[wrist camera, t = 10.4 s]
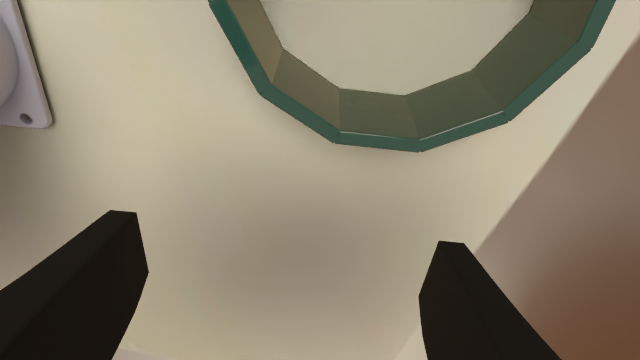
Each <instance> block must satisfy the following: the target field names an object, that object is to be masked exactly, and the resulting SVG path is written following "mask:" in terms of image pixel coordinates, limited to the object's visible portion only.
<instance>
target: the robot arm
mask: <svg viewBox="0 0 640 360" xmlns="http://www.w3.org/2000/svg"><path fill="white" fill-rule="evenodd" d="M25 114H26V115H28V116H29V117H30V118H31V119H32V120H30V119H29V118H27V117H26V115H25ZM51 123H52V117H51V113H50V110H49V107H48V103H47V100H46V97H45V93H44V90H43V87H42V83H41V80H40V77H39V73H38V70H37V67H36V63H35V60H34V57H33V53H32V50H31V47H30V43H29V40H28V37H27V33H26V30H25V27H24V23H23V20H22V16H21V13H20V10H19V6H18V3H17V0H0V125H6V126H15V127H25V128H34V129H45V128H47V127H48V126H49V125H50V124H51ZM148 273H149V271H148V266H147V261H146V257H145V252H144V247H143V242H142V237H141V233H140V228H139V223H138V218H137V213H135V212H125V211H114V210H110V211H108V212H107V213H106V214H104V215H103V216H101V217H100V218H99V219H97V220H96V221H95V222H93V223H92V224H91V225H89V226H88V227H87V228H86V229H84V230H83V231H82V232H80V233H79V234H78V235H76V236H75V237H74V238H72V239H71V240H70V241H68V242H67V243H66V244H65V245H63V246H62V247H61V248H59V249H58V250H56V251H55V252H54V253H52V254H51V255H50V256H48V257H47V258H46V259H44V260H43V261H42V262H40V263H39V264H38V265H36V266H35V267H33V268H32V269H31V270H29V271H28V272H27V273H25V274H24V275H22V276H21V277H19V278H18V279H16V280H15V281H14V282H12V283H11V284H9V285H8V286H6V287H5V288H3V289H2V290H0V360H112V358H113V356H114V354H115V352H116V350H117V348H118V346H119V344H120V342H121V340H122V338H123V336H124V334H125V332H126V330H127V327H128V325H129V323H130V321H131V319H132V317H133V315H134V313H135V311H136V308H137V305H138V302H139V300H140V297H141V294H142V291H143V288H144V285H145V282H146V279H147V276H148ZM419 306H420V317H421V326H422V335H423V340H424V345H425V349H426V354H427V358H428V360H561V359H560V358H559V356H558V355H557V354H556V353H555V352H554V351H553V350H552V349H551V348H550V347H549V346H548V345H547V343H546V342H545V341H544V340H543V339H542V338H541V337H540V336H539V335H538V333H537V332H536V331H535V330H534V329H533V328H532V327H531V325H530V324H529V323H528V322H527V321H526V320H525V319H524V317H523V316H522V315H521V314H520V313H519V311H518V310H517V309H516V308H515V307H514V305H513V304H512V303H511V302H510V301H509V299H508V298H507V297H506V296H505V294H504V293H503V292H502V291H501V289H500V288H499V287H498V286H497V284H496V283H495V282H494V281H493V279H492V278H491V277H490V276H489V274H488V273H487V272H486V271H485V269H484V268H483V267H482V265H481V264H480V263H479V262H478V260H477V259H476V258H475V257H474V255H473V254H472V253H471V251H470V250H469V249H468V248H467V246H466V245H465V244H464V243H456V242H446V241H439V242H438V244H437V247H436V250H435V253H434V255H433V258H432V261H431V264H430V266H429V269H428V272H427V275H426V277H425V280H424V283H423V285H422V288H421V291H420V294H419Z"/></svg>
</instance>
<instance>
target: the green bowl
mask: <svg viewBox="0 0 640 360" xmlns="http://www.w3.org/2000/svg"><path fill="white" fill-rule="evenodd" d="M615 1H616V0H534V3H533V5H532V8H531V11H530V12H529V13H528V14H527V15H526V16H525V17H524V18H523V19H522V20H521V21H520V22H519V23H518V24H517V25H516V26H515V27H514V28H513V29H512V30H511V31H510V33H509V34H508V35H507V36H506V37H505V38H504V39H503V40H502V41H501V42H500V43H499V44H498V45H497V46H496V47H495V48H494V49H493V50H492V51H491V52H490V53H489V54H488V55H487V56H486V57H485V58H484V59H483V60H482V61H481V62H480V63H479V64H478V65H477V66H476V67H475V68H474V69H473V70H472V71H469V72H467V73H464V74H461V75H459V76H456V77H453V78H451V79H448V80H445V81H443V82H440V83H438V84H435V85H432V86H430V87H427V88H424V89H422V90H419V91H416V92H414V93H411V94H409V95H406V96H402V95H393V94H384V93H375V92H366V91H357V90H348V89H339V88H338V87H336V86H335V85H334V84H332V83H331V82H329V81H328V80H326V79H325V78H324V77H322V76H321V75H319V74H318V73H317V72H315V71H314V70H312V69H311V68H310V67H308V66H307V65H305V64H304V63H303V62H301V61H300V60H298V59H297V58H296V57H294V56H293V55H291V54H290V53H289V52H287V51H286V50H284V49H283V48H282V46H281V44H280V41H279V39H278V37H277V35H276V33H275V31H274V29H273V27H272V25H271V23H270V21H269V19H268V17H267V15H266V13H265V11H264V9H263V7H262V5H261V3H260V1H259V0H208V2H209V6H210V8H211V10H212V12H213V13H214V15H215V17H216V19H217V21H218V22H219V24H220V26H221V28H222V29H223V31H224V33H225V35H226V37H227V38H228V40H229V42H230V44H231V45H232V47H233V49H234V51H235V53H236V54H237V56H238V58H239V60H240V62H241V63H242V65H243V67H244V69H245V70H246V72H247V74H248V76H249V78H250V79H251V81H252V83H253V85H254V87H255V88H256V90H257V92H258V93H259V94H260V95H261V96H262V97H263V98H265V99H266V100H268V101H270V102H271V103H273V104H274V105H276V106H277V107H279V108H280V109H282V110H283V111H285V112H286V113H288V114H289V115H291V116H292V117H294V118H296V119H297V120H299V121H300V122H302V123H303V124H305V125H306V126H308V127H309V128H311V129H312V130H314V131H315V132H317V133H318V134H320V135H321V136H323V137H325V138H326V139H328V140H329V141H331V142H332V143H334V142H335V144H343V145H352V146H362V147H371V148H380V149H390V150H399V151H409V152H424V151H426V150H429V149H432V148H435V147H438V146H441V145H444V144H447V143H450V142H453V141H456V140H459V139H462V138H465V137H468V136H471V135H474V134H476V133H479V132H482V131H485V130H488V129H491V128H494V127H497V126H500V125H503V124H506V123H508V121H511V120H512V119H514V118H515V117H516V116H517V115H518V114H519V113H520V112H522V111H523V110H524V109H525V108H526V107H527V106H528V105H529V104H531V103H532V102H533V101H534V100H535V99H536V98H537V97H538V96H540V95H541V94H542V93H543V92H544V91H545V90H546V89H548V88H549V87H550V86H551V85H552V84H553V83H554V82H555V81H557V80H558V79H559V78H560V77H561V76H562V75H563V74H564V73H566V72H567V71H568V70H569V69H570V68H571V67H572V66H574V65H575V64H576V63H577V62H578V61H579V60H580V59H581V58H583V57H584V56H585V55H586V54H587V53H588V52H589V51H590V50H591V49H590V48H593V46H594V44H595V42H596V40H597V38H598V36H599V34H600V32H601V30H602V28H603V26H604V24H605V22H606V20H607V18H608V16H609V14H610V12H611V10H612V8H613V6H614V4H615Z"/></svg>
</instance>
